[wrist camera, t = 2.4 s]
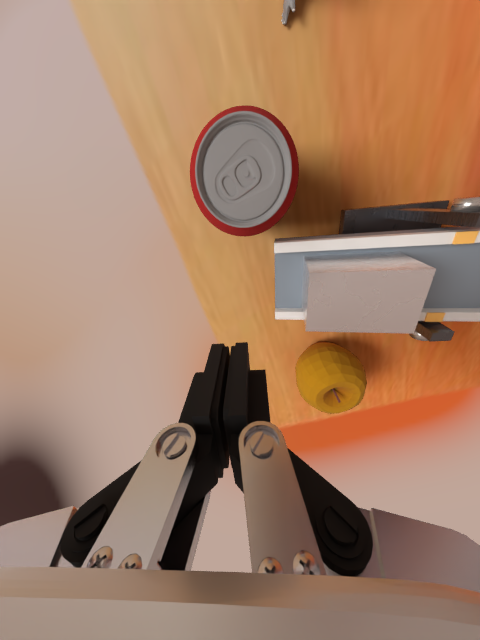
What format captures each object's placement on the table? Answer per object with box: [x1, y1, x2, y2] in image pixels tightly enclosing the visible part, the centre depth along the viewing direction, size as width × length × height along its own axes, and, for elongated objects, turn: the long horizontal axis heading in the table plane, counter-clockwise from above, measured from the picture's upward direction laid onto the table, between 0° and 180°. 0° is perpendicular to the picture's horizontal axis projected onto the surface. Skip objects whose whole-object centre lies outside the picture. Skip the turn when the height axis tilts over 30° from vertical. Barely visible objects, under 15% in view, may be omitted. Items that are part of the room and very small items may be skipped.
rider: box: [302, 251, 436, 333], centre depth 16 cm, size 4×7×5 cm, turn 95°
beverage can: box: [190, 106, 299, 236], centre depth 17 cm, size 7×7×12 cm
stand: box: [339, 197, 480, 341], centre depth 20 cm, size 11×24×11 cm, turn 95°
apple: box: [295, 342, 367, 414], centre depth 28 cm, size 8×8×9 cm
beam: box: [274, 226, 480, 322], centre depth 17 cm, size 7×26×2 cm, turn 95°
